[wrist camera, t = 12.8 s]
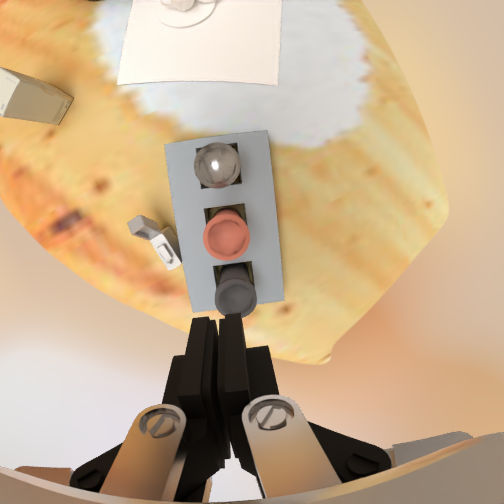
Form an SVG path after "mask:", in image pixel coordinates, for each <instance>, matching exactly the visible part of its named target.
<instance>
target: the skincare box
mask: <svg viewBox="0 0 504 504" xmlns="http://www.w3.org/2000/svg"><path fill="white" fill-rule="evenodd" d="M72 100H73V98H72V97H71V96H69V95H68V94H66V93H65V92H63V91H61V90H60V89H58V88H56V87H54V86H53V85H51V84H49V83H46V82H44V81H41V80H38V79H36V78H33V77H30V76H27V75H24V74H21V73H18V72H15V71H12V70H8V69H5V68H2V67H0V116H1V117H6V118H15V119H22V120H29V121H35V122H42V123H48V124H54V125H59V123H60V121H61V119H62V118H63V116H64V114H65V112H66V111H67V109H68V107H69V105H70V104H71V102H72Z"/></svg>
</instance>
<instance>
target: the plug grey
mask: <svg viewBox="0 0 504 504" xmlns="http://www.w3.org/2000/svg"><path fill="white" fill-rule="evenodd" d="M240 169H241V161H240V158H239V155H238V153H237V152H236V151H235V149H234V148H232V147H231V146H230V145H228V144H225V143H221V142H215V143H210V144H208V145H206V146H204V147H203V148H202V149H201V150H200V151H199V152H198V153H197V155H196V157H195V160H194V172H195V175H196V177H197V178H198V180H199V181H200V182H201V183H202V184H204V185H205V186H207V187H210V188H214V189H219V188H224V187H227V186H229V185H230V184H232V183H233V182H234V181H235V180H236V178H237V177H238V175H239V173H240Z"/></svg>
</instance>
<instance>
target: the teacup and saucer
mask: <svg viewBox="0 0 504 504" xmlns="http://www.w3.org/2000/svg"><path fill="white" fill-rule="evenodd" d="M216 1H217V0H155V2H154V5H153V13H154V16H155V18H156V19H157V20H158V21H159V22H160V23H161V24H163V25H165V26H168V27H172V28H186V27H191V26H194V25H196V24H199V23H201V22H202V21H204V20H205V19H206V18H208V17H209V16H210V15H211V13H212V12H213V11H214V9H215V6H216Z"/></svg>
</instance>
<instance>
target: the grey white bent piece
mask: <svg viewBox="0 0 504 504" xmlns="http://www.w3.org/2000/svg"><path fill="white" fill-rule="evenodd" d="M127 224H128V227H129V229H130V232H131V234H132V235H134V236H137V237H140V238H143V239H146V240H151V241H150V242H151V244H152V245H153V247H154V248H155V250H156V252H157V253H158V255H159V257H160V258H161V260H162V261H163V263H164V264H165V265H166V267H167V269H168V270H170V271H171V270H172V269H174V268H176V267H178V266H179V265H181V263H182V257H181V251H180V246H179V240H178V238H177V237H176V235H175V234H174V232H173V230H172V229H171V227H170V226H168V227H166V228H164V229H163V230H160V228H159V226H158V224H157V222H155V221H153V220H151V219H149V218H147V217H145V216H142V215H138V216H137V217H135V218H134V219H132V220H131V221H129V222H128V223H127Z"/></svg>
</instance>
